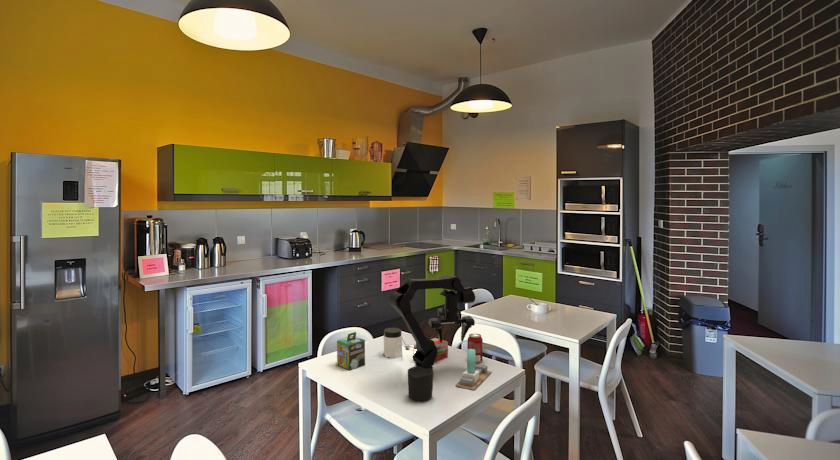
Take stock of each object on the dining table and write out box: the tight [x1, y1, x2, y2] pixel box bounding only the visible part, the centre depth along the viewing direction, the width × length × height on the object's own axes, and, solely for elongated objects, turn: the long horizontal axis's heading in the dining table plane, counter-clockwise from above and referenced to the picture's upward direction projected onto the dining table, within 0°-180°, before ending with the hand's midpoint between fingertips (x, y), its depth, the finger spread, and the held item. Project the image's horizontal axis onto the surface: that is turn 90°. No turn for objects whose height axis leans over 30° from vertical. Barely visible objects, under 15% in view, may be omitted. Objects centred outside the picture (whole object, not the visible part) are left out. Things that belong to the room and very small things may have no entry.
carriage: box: [462, 349, 479, 383], centre depth 178 cm, size 5×5×12 cm
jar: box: [383, 327, 403, 359], centre depth 210 cm, size 9×8×12 cm
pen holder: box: [407, 366, 434, 403], centre depth 165 cm, size 9×9×10 cm
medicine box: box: [413, 337, 449, 364], centre depth 204 cm, size 15×8×8 cm, turn 137°
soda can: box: [466, 333, 484, 364], centre depth 202 cm, size 7×7×12 cm
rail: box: [454, 363, 493, 391], centre depth 181 cm, size 20×8×3 cm, turn 152°
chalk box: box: [336, 331, 366, 371], centre depth 197 cm, size 9×9×15 cm
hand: (451, 341), depth 189 cm, fingers open, 9 cm apart
